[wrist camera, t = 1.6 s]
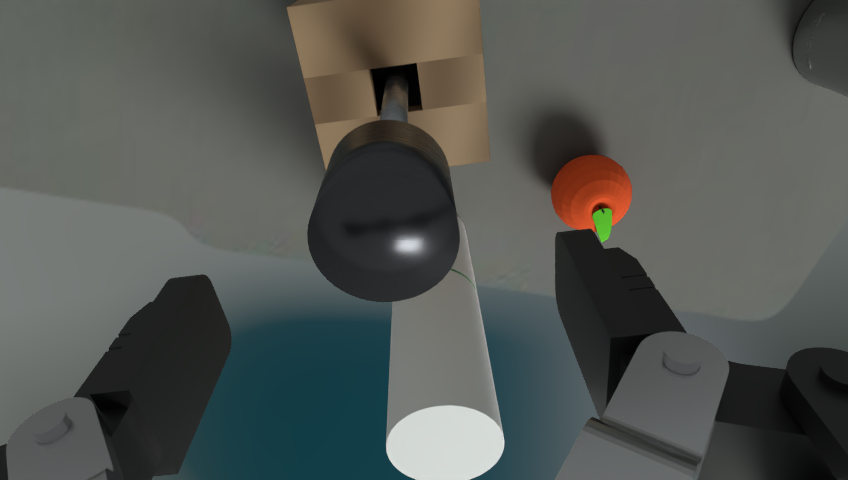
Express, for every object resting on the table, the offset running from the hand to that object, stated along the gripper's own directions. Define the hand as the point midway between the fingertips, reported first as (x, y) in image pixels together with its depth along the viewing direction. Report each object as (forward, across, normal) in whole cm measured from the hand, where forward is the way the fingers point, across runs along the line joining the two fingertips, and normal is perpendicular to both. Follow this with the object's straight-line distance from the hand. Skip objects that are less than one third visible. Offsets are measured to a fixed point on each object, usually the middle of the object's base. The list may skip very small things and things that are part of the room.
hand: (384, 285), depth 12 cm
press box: (+36, 0, 0) cm, 36 cm away
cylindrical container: (+36, 0, +20) cm, 41 cm away
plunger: (+26, 0, 0) cm, 26 cm away
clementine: (+36, -15, +16) cm, 42 cm away
